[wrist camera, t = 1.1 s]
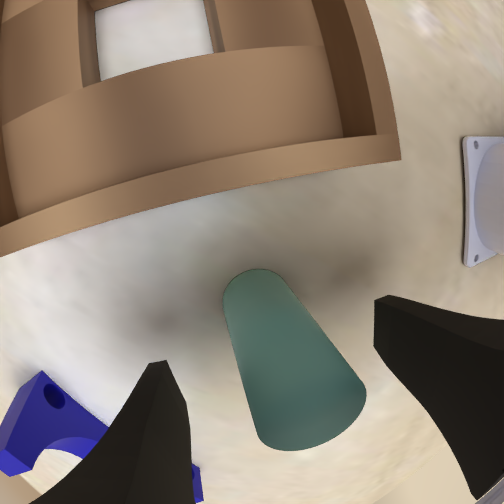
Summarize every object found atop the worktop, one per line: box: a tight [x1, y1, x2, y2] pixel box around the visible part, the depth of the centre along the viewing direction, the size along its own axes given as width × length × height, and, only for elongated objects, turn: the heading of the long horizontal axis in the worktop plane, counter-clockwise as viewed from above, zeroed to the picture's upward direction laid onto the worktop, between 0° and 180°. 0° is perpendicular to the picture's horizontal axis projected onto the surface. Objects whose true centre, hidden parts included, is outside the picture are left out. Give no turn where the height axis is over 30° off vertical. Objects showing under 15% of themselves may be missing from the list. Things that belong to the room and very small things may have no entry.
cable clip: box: [0, 371, 204, 503], centre depth 12 cm, size 12×4×6 cm, turn 33°
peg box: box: [0, 0, 401, 257], centre depth 7 cm, size 13×13×4 cm
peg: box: [222, 269, 366, 451], centre depth 10 cm, size 3×3×7 cm
